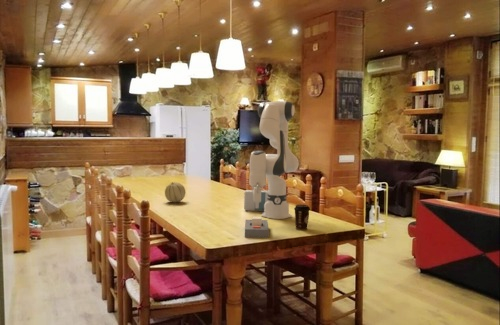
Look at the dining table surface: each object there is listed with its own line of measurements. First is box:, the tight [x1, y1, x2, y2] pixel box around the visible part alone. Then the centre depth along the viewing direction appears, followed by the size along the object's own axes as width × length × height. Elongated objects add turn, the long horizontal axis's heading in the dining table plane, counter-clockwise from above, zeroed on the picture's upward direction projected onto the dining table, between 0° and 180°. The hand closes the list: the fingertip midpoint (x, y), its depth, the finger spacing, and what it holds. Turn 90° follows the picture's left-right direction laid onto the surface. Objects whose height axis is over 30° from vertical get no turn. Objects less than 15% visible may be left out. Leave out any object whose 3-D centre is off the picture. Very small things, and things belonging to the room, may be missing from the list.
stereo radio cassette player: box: [243, 183, 268, 212], centre depth 274 cm, size 21×8×20 cm, turn 89°
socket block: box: [244, 219, 270, 239], centre depth 217 cm, size 22×12×5 cm, turn 0°
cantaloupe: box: [164, 181, 186, 203], centre depth 297 cm, size 15×15×15 cm
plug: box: [251, 216, 263, 226], centre depth 217 cm, size 4×5×7 cm
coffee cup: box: [293, 204, 311, 231], centre depth 225 cm, size 9×8×13 cm
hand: (256, 207), depth 216 cm, fingers closed
